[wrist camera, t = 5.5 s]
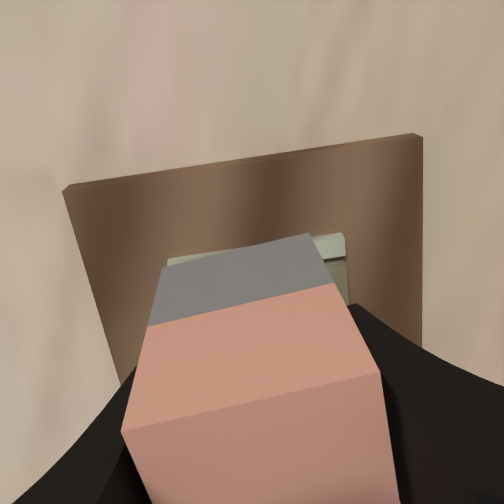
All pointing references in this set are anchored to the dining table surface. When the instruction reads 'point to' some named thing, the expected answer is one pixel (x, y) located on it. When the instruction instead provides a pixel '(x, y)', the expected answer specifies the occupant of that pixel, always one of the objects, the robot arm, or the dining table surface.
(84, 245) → the board
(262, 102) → the dining table surface
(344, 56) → the dining table surface
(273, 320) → the pink rectangular block
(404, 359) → the robot arm
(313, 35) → the dining table surface
